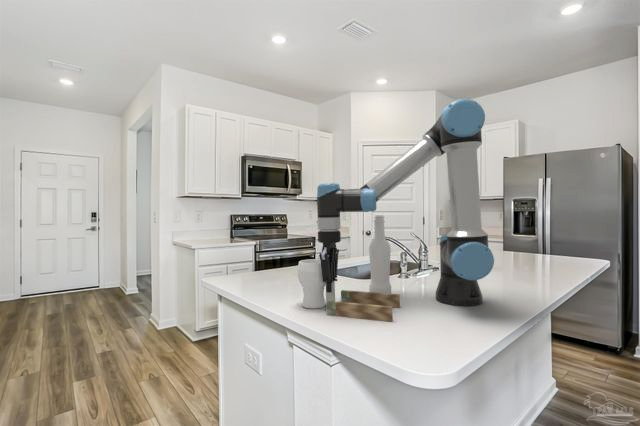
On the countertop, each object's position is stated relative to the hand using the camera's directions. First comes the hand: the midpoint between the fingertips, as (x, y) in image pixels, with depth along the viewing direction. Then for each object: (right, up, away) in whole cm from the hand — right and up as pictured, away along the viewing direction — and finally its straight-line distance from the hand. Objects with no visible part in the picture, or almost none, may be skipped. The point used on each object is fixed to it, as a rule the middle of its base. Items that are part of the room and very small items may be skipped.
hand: (330, 301), depth 113 cm
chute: (+11, -2, -4) cm, 12 cm away
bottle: (+19, -2, +14) cm, 24 cm away
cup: (-6, -2, +3) cm, 7 cm away
